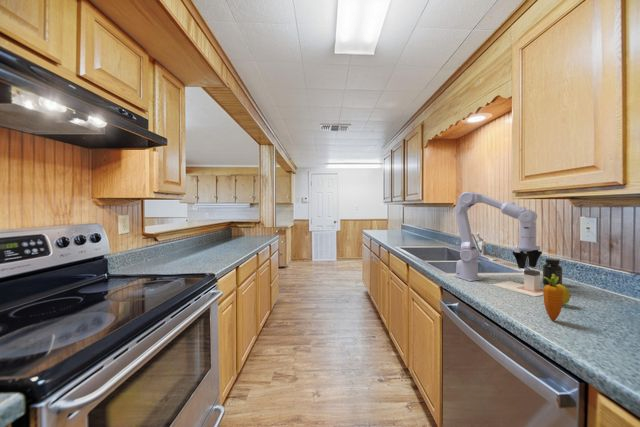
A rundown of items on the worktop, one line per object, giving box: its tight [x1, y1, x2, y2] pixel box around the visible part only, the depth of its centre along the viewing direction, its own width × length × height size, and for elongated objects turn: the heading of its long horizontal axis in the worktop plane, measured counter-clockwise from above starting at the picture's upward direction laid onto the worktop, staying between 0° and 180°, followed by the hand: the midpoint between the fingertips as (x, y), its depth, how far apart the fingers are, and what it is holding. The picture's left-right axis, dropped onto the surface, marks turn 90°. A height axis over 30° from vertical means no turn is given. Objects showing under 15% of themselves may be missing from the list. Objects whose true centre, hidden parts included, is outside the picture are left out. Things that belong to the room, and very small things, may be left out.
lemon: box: [556, 284, 571, 305], centre depth 99 cm, size 6×6×8 cm
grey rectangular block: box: [523, 269, 541, 291], centre depth 116 cm, size 4×4×8 cm
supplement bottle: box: [542, 258, 563, 286], centre depth 123 cm, size 7×7×12 cm
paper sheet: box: [491, 280, 544, 298], centre depth 118 cm, size 18×13×1 cm
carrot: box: [542, 274, 564, 322], centre depth 85 cm, size 5×5×15 cm
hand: (527, 267), depth 118 cm, fingers open, 7 cm apart
